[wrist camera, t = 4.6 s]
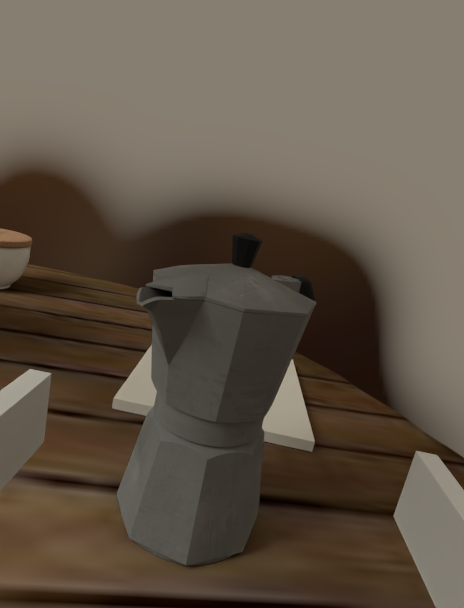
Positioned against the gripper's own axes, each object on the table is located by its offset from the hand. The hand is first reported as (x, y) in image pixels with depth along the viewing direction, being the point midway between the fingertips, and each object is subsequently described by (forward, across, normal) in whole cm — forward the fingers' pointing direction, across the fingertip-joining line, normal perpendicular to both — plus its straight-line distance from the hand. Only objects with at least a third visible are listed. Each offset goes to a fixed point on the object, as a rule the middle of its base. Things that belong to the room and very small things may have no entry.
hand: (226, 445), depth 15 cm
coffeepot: (+11, 0, -11) cm, 16 cm away
